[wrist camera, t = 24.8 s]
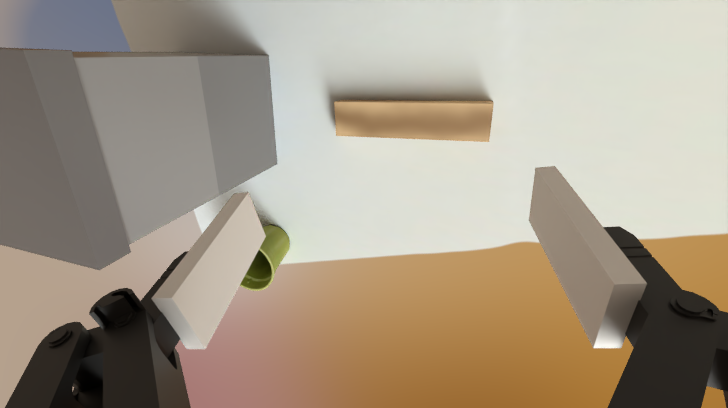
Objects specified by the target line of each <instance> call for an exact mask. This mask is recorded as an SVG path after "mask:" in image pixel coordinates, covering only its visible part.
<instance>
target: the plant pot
mask: <svg viewBox="0 0 728 408" xmlns="http://www.w3.org/2000/svg"><path fill="white" fill-rule="evenodd" d="M263 230H264V233H265V235H266V237H265V239H264V241H263V243H262V245H261V247H260V248H259V250H258V252H257V254H256V256H255V258H254V260H253V261H252V263H251V265H250V267H249V269H248V271H247V273H246V274H245V276H244V278H243V280H242V282H241V284H240V286H241V287H244V288H246V289H249V290H253V291H260V290H263V289H266V288H267V287H268V286H269V285H270V284H271V283H272V281H273V279H274V274H275V271H276V269H277V267H278V266H279V264H280V262H281V261H282V259H283V258H284V256H285V255H286V253H287V252H288V250H289V238H288V236H287V234H286V233H285V232H284V231H283V230H282V229H281V228H279V227H275V226H272V225H267V226H265V227H263Z"/></svg>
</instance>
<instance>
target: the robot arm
mask: <svg viewBox="0 0 728 408" xmlns="http://www.w3.org/2000/svg"><path fill="white" fill-rule="evenodd" d="M529 221H530V223H531V225H532V227H533V229H534V231H535V233H536V235H537V237H538V239H539V241H540V243H541V245H542V247H543V249H544V251H545V253H546V255H547V257H548V259H549V261H550V263H551V265H552V267H553V269H554V271H555V273H556V275H557V277H558V279H559V281H560V283H561V285H562V287H563V289H564V291H565V293H566V295H567V297H568V299H569V301H570V303H571V305H572V307H573V309H574V311H575V313H576V315H577V317H578V318H579V320H580V323H581V325H582V327H583V328H584V331H585V332H586V334H587V336H588V339H589V340H590V342H591V344H592V346H593V348H621V347H622V344H623V342H624V339H625V337H626V336H627V338H628V339H629V341H630V342H631V344H632V346H633V347H634V349H633V351H632V353H631V355H630V358H629V360H628V362H627V365H626V367H625V369H624V371H623V374H622V376H621V378H620V381H619V383H618V385H617V388H616V390H615V392H614V394H613V397H612V399H611V401H610V404H609V406H608V408H701V406H702V402H703V398H704V394H705V390H706V386H709V387H713V388H717V389H720V390H723V392H724V397H725V402H726V407H727V408H728V313H727V312H723V311H719V309H718V308H717V307H716V306H715V305H714V304H713V303H711V302H710V301H709V300H707V299H706V298H704V297H701V296H699V295H697V294H695V293H693V292H689V291H685V290H682V289H681V288H680V287H679V286H678V285H677V283H676V282H675V281H674V280H673V279H672V278H671V277H670V275H669V274H668V273H667V272H666V271H665V270H664V269H663V267H662V266H661V265H660V264H659V263H658V262H657V261H656V260H655V259H654V258H653V257H652V255H651V254H650V253H649V252H648V250H647V249H645V248H644V246H643V245H642V244H641V243H640V242H639V240H638V239H637V238H636V237H635V236H634V235H633V234H631V233H629V232H628V231H626V230H624V229H623V228H621V227H602V225H601V224H600V223H599V221H598V220H597V219H596V218H595V216H594V215H593V214H592V213H591V211H590V210H589V209H588V207H587V206H586V205H585V204H584V202H583V201H582V200H581V199H580V197H579V196H578V195H577V193H576V192H575V191H574V190H573V188H572V187H571V186H570V185H569V183H568V182H567V181H566V179H565V178H564V177H563V176H562V174H561V173H560V172H559V171H558V169H557V168H556V167H555V166H551V167H540V168H536V169H535V176H534V184H533V192H532V200H531V208H530V216H529ZM265 237H266V235H265V233H264V230H263V228H262V225H261V223H260V220H259V218H258V215H257V212H256V210H255V207H254V205H253V202H252V200H251V197H250V195H249V192H247V193H235V194H234V195H233V196H232V197H231V198H230V200H229V201H228V202H227V203H226V205H225V206H224V207H223V208H222V210H221V211H220V212H219V214H218V215H217V216H216V217H215V219H214V220H213V221H212V222H211V224H210V225H209V226H208V227H207V229H206V230H205V231H204V233H203V234H202V235H201V236H200V238H199V239H198V240H197V242H196V243H195V244H194V245H193V247H192V248H191V249H190V250H189V251H188V252H184V253H183V254H182V255H180V256H179V257H178V258H176V259H175V260H174V261H173V262H172V263H171V265H170V266H169V267H168V268H167V271H165V272H164V273H163V275H162V276H161V278H160V279H158V281H157V282H156V283H155V284H154V285H153V287H152V288H151V289H150V290H149V292H148V293H147V294H146V295H145V296H144V298H143V299H142V300H141V301H140V300H139V299H138V298H137V296H136V295H135V294H134V292H133V291H132V290H131V289H128V288H123V289H118V290H115V291H112V292H110V293H109V294H107V295H105V296H103V297H102V298H101V299H100V300H98V301H97V302H96V303H95V304H94V305H93V307H92V308H91V310H90V315H91V316H92V317H93V319H94V320H95V321H96V322H97V323H98V324H99V325H100V327H97V328H93V329H90V330H86V328H84V326H83V325H82V324H81V323H80V322H72V323H67V324H65V325H63V326H61V327H59V328H57V329H55V330H53V331H52V332H51V333H49V334H48V336H46V337H45V338H44V339H43V340H42V342H41V343H40V344H39V345H38V347H37V349H36V351H35V353H34V355H33V356H32V358H31V360H30V362H29V364H28V366H27V368H26V370H25V371H24V373H23V375H22V377H21V379H20V381H19V383H18V384H17V386H16V388H15V390H14V392H13V394H12V396H11V397H10V399H9V401H8V403H7V405H6V407H5V408H191V407H190V403H189V398H188V394H187V390H186V385H185V380H184V376H183V372H182V367H181V363H180V358H179V354H178V352H177V351H176V349H175V346H176V345H177V343H178V341H179V340H181V341H182V343H183V344H184V345H185V347H186V348H187V349H206V347H207V345H208V343H209V341H210V340H211V338H212V336H213V334H214V332H215V330H216V328H217V327H218V324H219V323H220V321H221V319H222V317H223V315H224V314H225V312H226V310H227V308H228V306H229V304H230V302H231V301H232V299H233V297H234V295H235V293H236V291H237V289H238V288H239V286H240V284H241V282H242V280H243V278H244V276H245V274H246V273H247V271H248V269H249V267H250V265H251V263H252V261H253V260H254V258H255V256H256V254H257V252H258V250H259V248H260V247H261V245H262V243H263V241H264V239H265ZM72 387H74V390H73V392H72Z"/></svg>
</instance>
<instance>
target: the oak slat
mask: <svg viewBox="0 0 728 408" xmlns="http://www.w3.org/2000/svg"><path fill="white" fill-rule="evenodd" d="M334 106H335V123H336V136H356V137H381V138H406V139H430V140H455V141H479V142H489V137H490V129H491V120H492V112H493V101H422V100H339V101H336V102H334Z"/></svg>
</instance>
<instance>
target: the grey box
mask: <svg viewBox="0 0 728 408" xmlns="http://www.w3.org/2000/svg"><path fill="white" fill-rule="evenodd" d="M276 164H277V155H276V143H275V130H274V118H273V105H272V93H271V80H270V68H269V56H268V55H241V54H214V53H187V52H72V51H71V50H49V49H23V48H22V49H21V48H20V49H19V48H0V245H4V246H8V247H12V248H15V249H20V250H23V251H28V252H31V253H35V254H39V255H43V256H47V257H50V258H55V259H58V260H62V261H66V262H70V263H74V264H77V265H81V266H86V267H90V268H93V269H97V270H100V269H102V268H104V267H106V266H108V265H109V264H111V263H113V262H115V261H116V260H118V259H120V258H122V257H123V256H125V255H127V254H129V253H130V252H131V251H130V247H129V244H131V243H133V242H135V241H137V240H138V239H140V238H142V237H144V236H146V235H147V234H149V233H151V232H153V231H155V230H157V229H159V228H160V227H162V226H164V225H166V224H168V223H170V222H171V221H173V220H175V219H177V218H179V217H181V216H182V215H184V214H186V213H188V212H190V211H192V210H193V209H195V208H197V207H199V206H201V205H203V204H204V203H206V202H208V201H210V200H212V199H214V198H216V197H217V196H219V195H221V194H223V193H225V192H227V191H228V190H230V189H232V188H234V187H236V186H238V185H239V184H241V183H243V182H245V181H247V180H249V179H250V178H252V177H254V176H256V175H258V174H260V173H261V172H263V171H265V170H267V169H269V168H271V167H272V166H274V165H276Z"/></svg>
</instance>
